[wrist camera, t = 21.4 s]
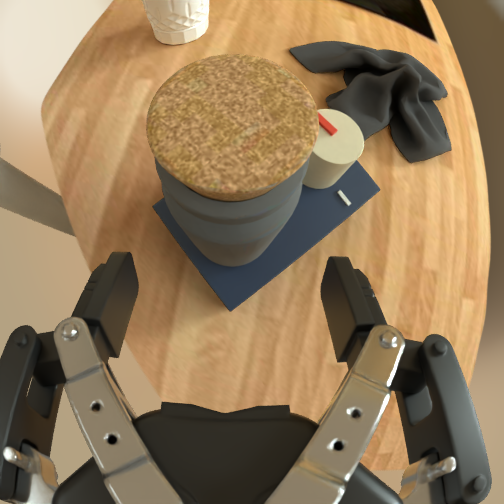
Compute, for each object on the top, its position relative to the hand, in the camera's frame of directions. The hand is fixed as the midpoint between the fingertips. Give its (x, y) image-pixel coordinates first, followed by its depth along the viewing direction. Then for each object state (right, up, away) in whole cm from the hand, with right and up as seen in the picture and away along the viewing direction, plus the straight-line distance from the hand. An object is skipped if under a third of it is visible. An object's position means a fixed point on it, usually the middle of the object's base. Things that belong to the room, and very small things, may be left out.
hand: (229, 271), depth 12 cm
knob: (+6, +8, +11) cm, 15 cm away
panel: (+2, +5, +14) cm, 15 cm away
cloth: (+16, +20, +17) cm, 30 cm away
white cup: (-8, +28, +16) cm, 34 cm away
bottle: (-1, +3, +10) cm, 11 cm away
